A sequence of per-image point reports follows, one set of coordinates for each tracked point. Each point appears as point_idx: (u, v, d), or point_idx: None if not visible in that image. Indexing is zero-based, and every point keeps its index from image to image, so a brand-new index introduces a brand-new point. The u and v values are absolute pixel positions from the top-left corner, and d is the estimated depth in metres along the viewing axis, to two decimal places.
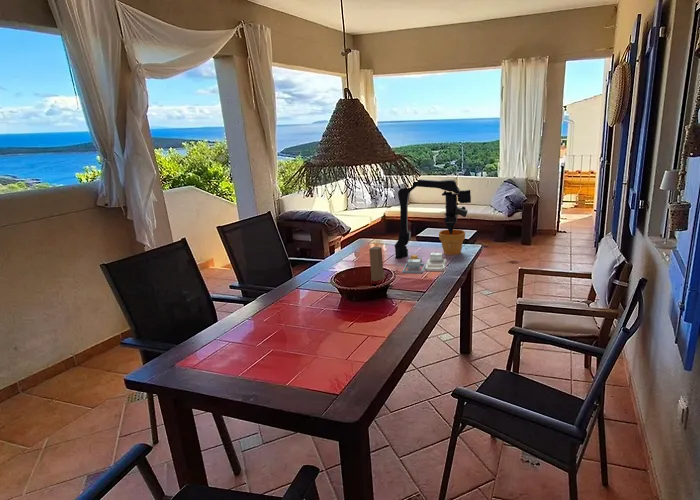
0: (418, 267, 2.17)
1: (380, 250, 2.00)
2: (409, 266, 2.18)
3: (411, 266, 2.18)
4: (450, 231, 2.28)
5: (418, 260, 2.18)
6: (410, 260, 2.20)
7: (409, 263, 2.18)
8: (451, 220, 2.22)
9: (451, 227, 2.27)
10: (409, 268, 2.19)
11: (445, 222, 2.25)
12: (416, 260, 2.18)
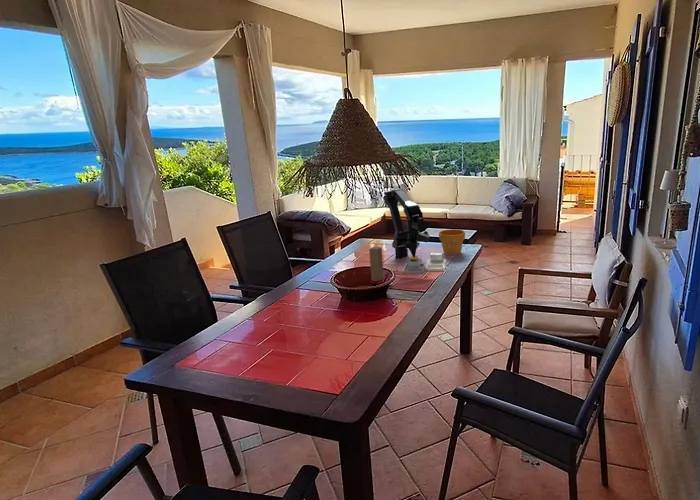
0: (418, 267, 2.17)
1: (380, 250, 2.00)
2: (409, 266, 2.18)
3: (411, 266, 2.18)
4: (413, 254, 2.29)
5: (418, 260, 2.18)
6: (410, 260, 2.20)
7: (409, 263, 2.18)
8: (412, 246, 2.20)
9: (414, 250, 2.28)
10: (409, 268, 2.19)
11: None
12: (416, 260, 2.18)
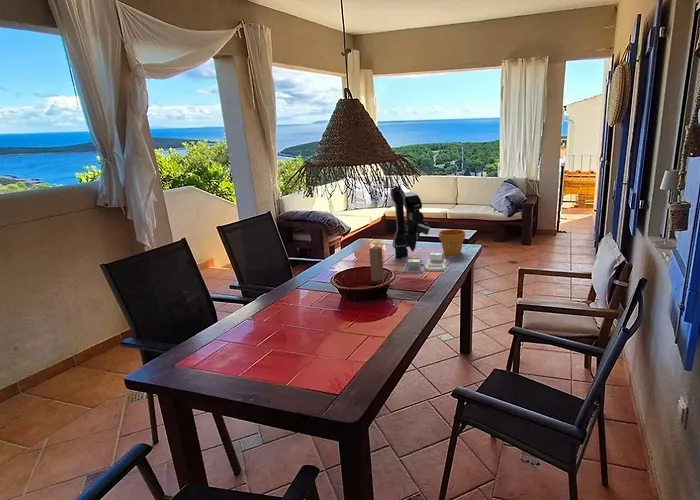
0: (418, 267, 2.17)
1: (380, 250, 2.00)
2: (409, 266, 2.18)
3: (411, 266, 2.18)
4: (412, 248, 2.14)
5: (418, 260, 2.18)
6: (410, 260, 2.20)
7: (409, 263, 2.18)
8: (411, 238, 2.07)
9: (412, 244, 2.13)
10: (409, 268, 2.19)
11: None
12: (416, 260, 2.18)
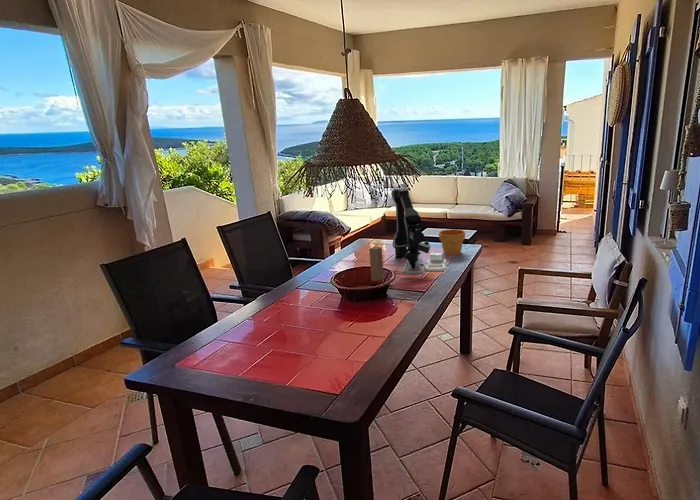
0: (418, 267, 2.17)
1: (380, 250, 2.00)
2: (409, 266, 2.18)
3: None
4: (412, 266, 2.17)
5: (418, 260, 2.18)
6: None
7: (409, 263, 2.18)
8: (412, 257, 2.09)
9: (413, 262, 2.16)
10: (409, 268, 2.19)
11: None
12: (416, 260, 2.18)
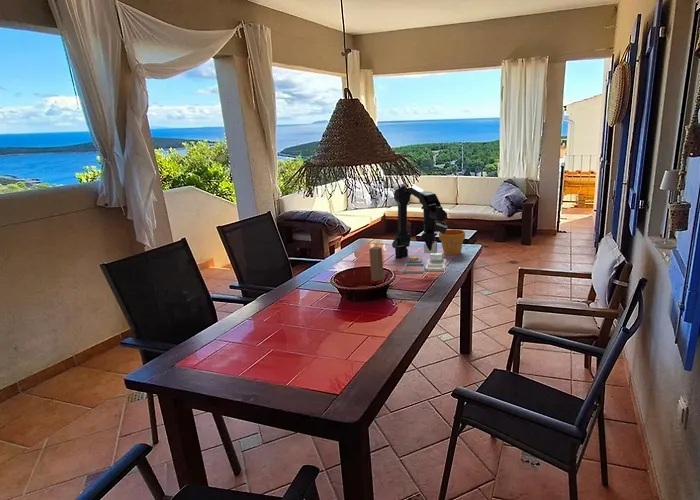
0: (435, 249, 2.13)
1: (380, 250, 2.00)
2: (425, 248, 2.14)
3: None
4: (429, 247, 2.12)
5: (435, 242, 2.13)
6: None
7: (425, 245, 2.13)
8: (428, 237, 2.04)
9: (430, 243, 2.11)
10: (425, 250, 2.14)
11: None
12: None
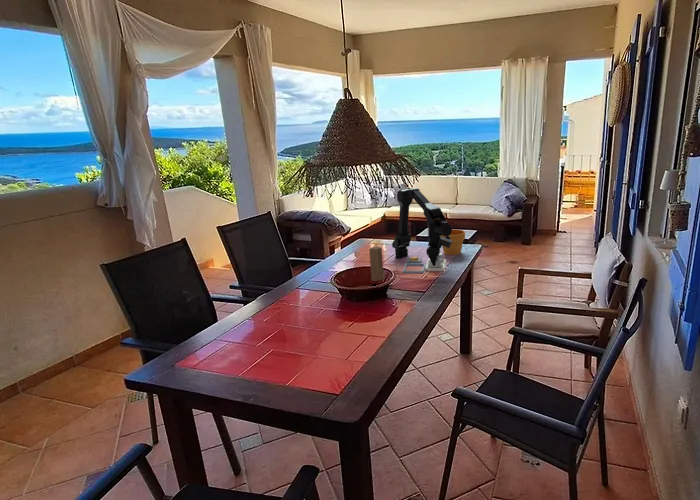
0: (439, 266, 2.15)
1: (380, 250, 2.00)
2: (430, 265, 2.16)
3: None
4: (433, 263, 2.12)
5: (439, 259, 2.16)
6: None
7: (430, 262, 2.16)
8: (434, 252, 2.06)
9: (434, 259, 2.11)
10: (430, 267, 2.16)
11: None
12: (437, 259, 2.16)
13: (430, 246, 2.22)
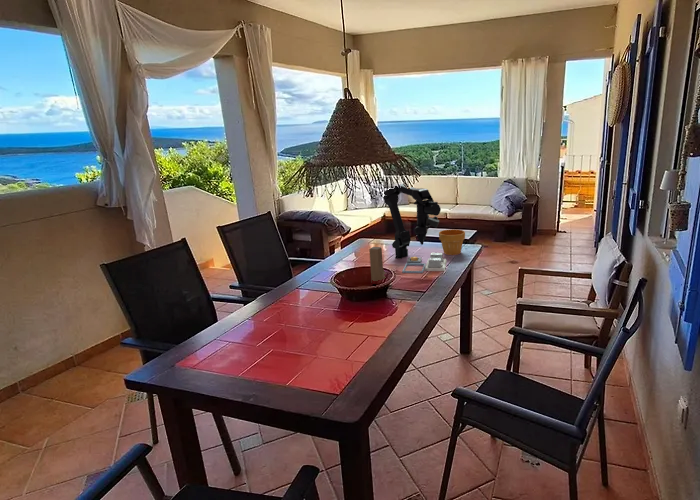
0: (439, 266, 2.15)
1: (380, 250, 2.00)
2: (430, 265, 2.16)
3: (432, 264, 2.16)
4: (421, 242, 2.23)
5: (439, 259, 2.16)
6: (431, 258, 2.17)
7: (430, 262, 2.16)
8: (421, 231, 2.17)
9: (422, 238, 2.21)
10: (430, 267, 2.16)
11: (415, 233, 2.19)
12: (437, 259, 2.16)
13: None
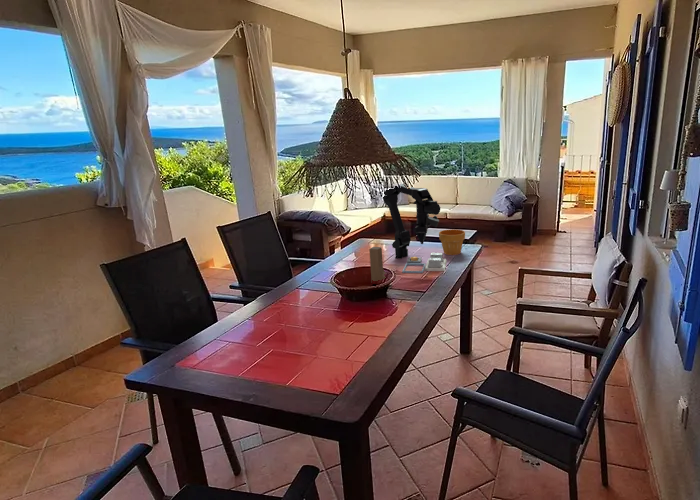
0: (439, 266, 2.15)
1: (380, 250, 2.00)
2: (430, 265, 2.16)
3: (432, 264, 2.16)
4: (421, 241, 2.23)
5: (439, 259, 2.16)
6: (431, 258, 2.17)
7: (430, 262, 2.16)
8: (421, 230, 2.17)
9: (422, 237, 2.21)
10: (430, 267, 2.16)
11: (415, 232, 2.20)
12: (437, 259, 2.16)
13: None
